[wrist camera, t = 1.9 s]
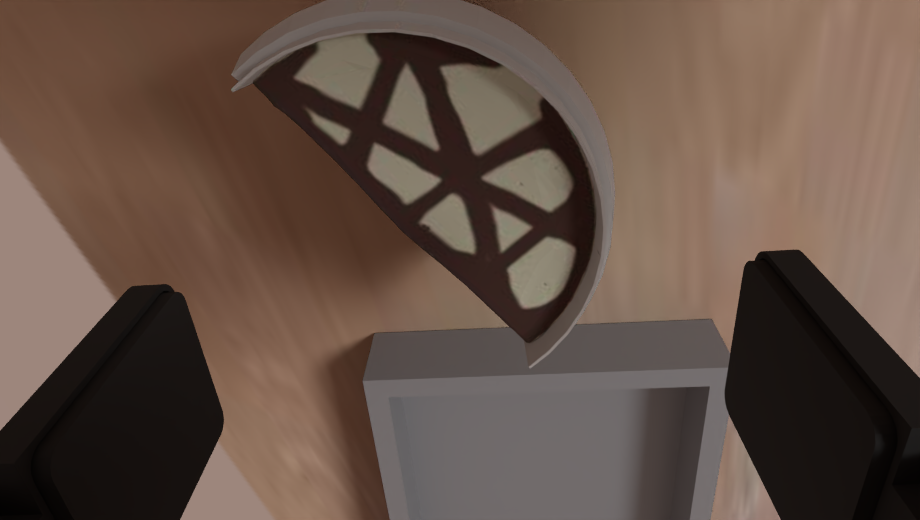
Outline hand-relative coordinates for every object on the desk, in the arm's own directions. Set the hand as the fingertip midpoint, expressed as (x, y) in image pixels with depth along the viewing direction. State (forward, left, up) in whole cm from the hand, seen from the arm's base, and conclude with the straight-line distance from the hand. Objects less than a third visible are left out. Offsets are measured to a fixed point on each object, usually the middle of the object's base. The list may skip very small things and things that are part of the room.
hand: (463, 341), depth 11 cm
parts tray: (-2, +23, -16) cm, 28 cm away
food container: (0, 0, -17) cm, 17 cm away
